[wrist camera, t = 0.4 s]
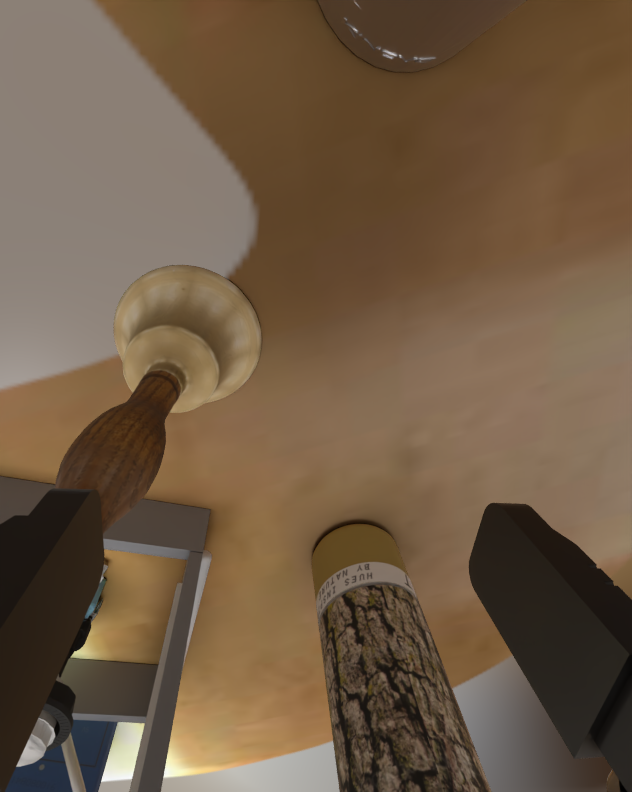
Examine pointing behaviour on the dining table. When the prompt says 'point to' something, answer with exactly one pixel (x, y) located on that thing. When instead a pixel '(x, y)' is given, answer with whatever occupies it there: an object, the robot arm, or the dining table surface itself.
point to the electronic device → (48, 777)
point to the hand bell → (162, 378)
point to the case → (159, 684)
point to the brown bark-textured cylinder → (386, 674)
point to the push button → (59, 699)
